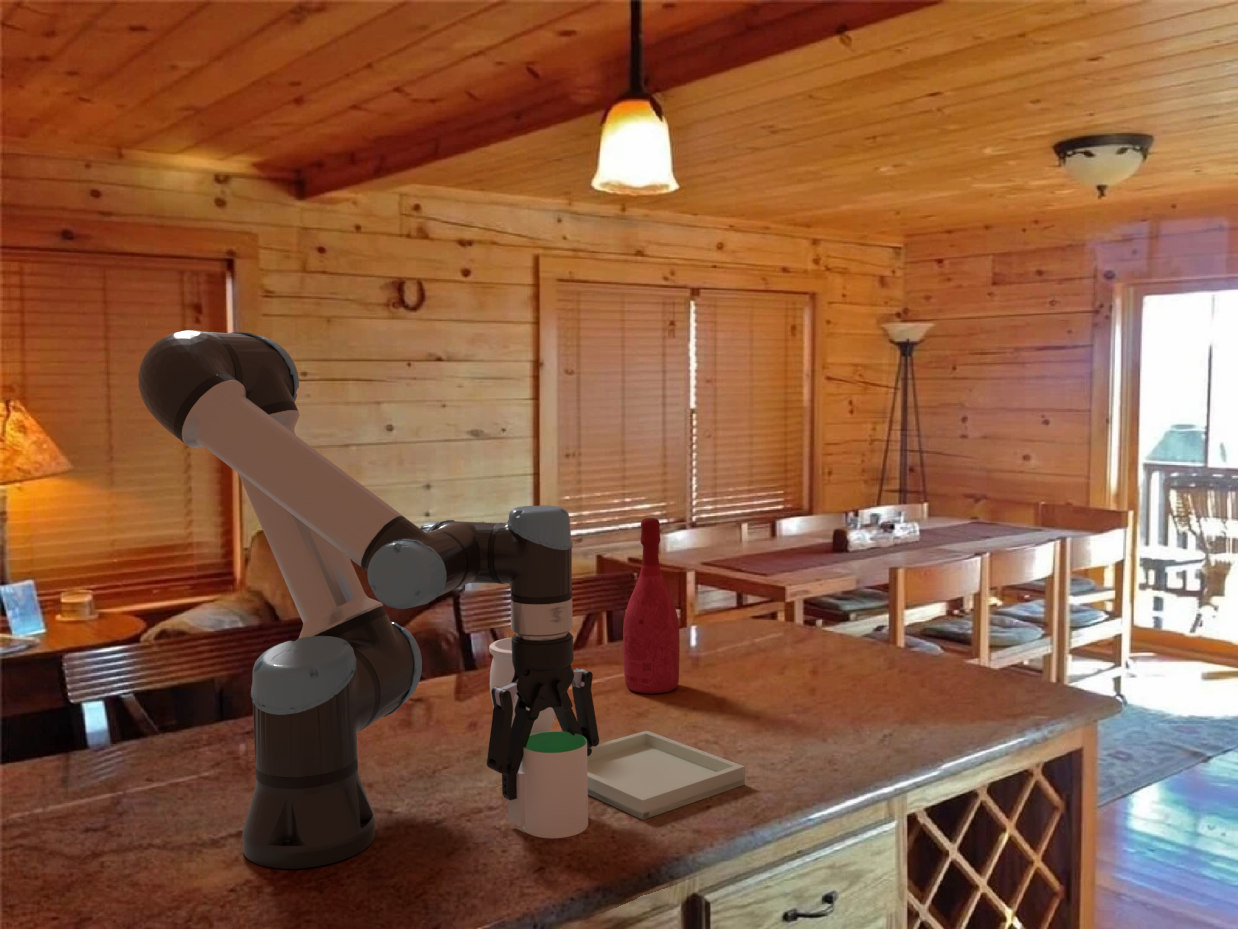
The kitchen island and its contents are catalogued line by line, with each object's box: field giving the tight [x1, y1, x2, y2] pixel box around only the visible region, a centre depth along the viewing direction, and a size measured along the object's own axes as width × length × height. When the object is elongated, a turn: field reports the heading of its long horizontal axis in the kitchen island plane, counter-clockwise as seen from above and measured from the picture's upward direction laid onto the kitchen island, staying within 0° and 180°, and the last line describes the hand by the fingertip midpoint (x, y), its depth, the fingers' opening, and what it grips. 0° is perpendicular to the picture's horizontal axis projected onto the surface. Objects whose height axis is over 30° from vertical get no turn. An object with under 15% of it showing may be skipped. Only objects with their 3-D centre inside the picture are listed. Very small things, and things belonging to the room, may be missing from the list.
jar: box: [488, 636, 556, 735], centre depth 167 cm, size 11×10×15 cm
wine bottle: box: [622, 517, 681, 695], centre depth 194 cm, size 10×10×30 cm
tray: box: [587, 730, 746, 821], centre depth 151 cm, size 18×20×2 cm
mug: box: [519, 730, 589, 839], centre depth 137 cm, size 12×8×10 cm
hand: (545, 813), depth 138 cm, fingers closed on mug, 8 cm apart
